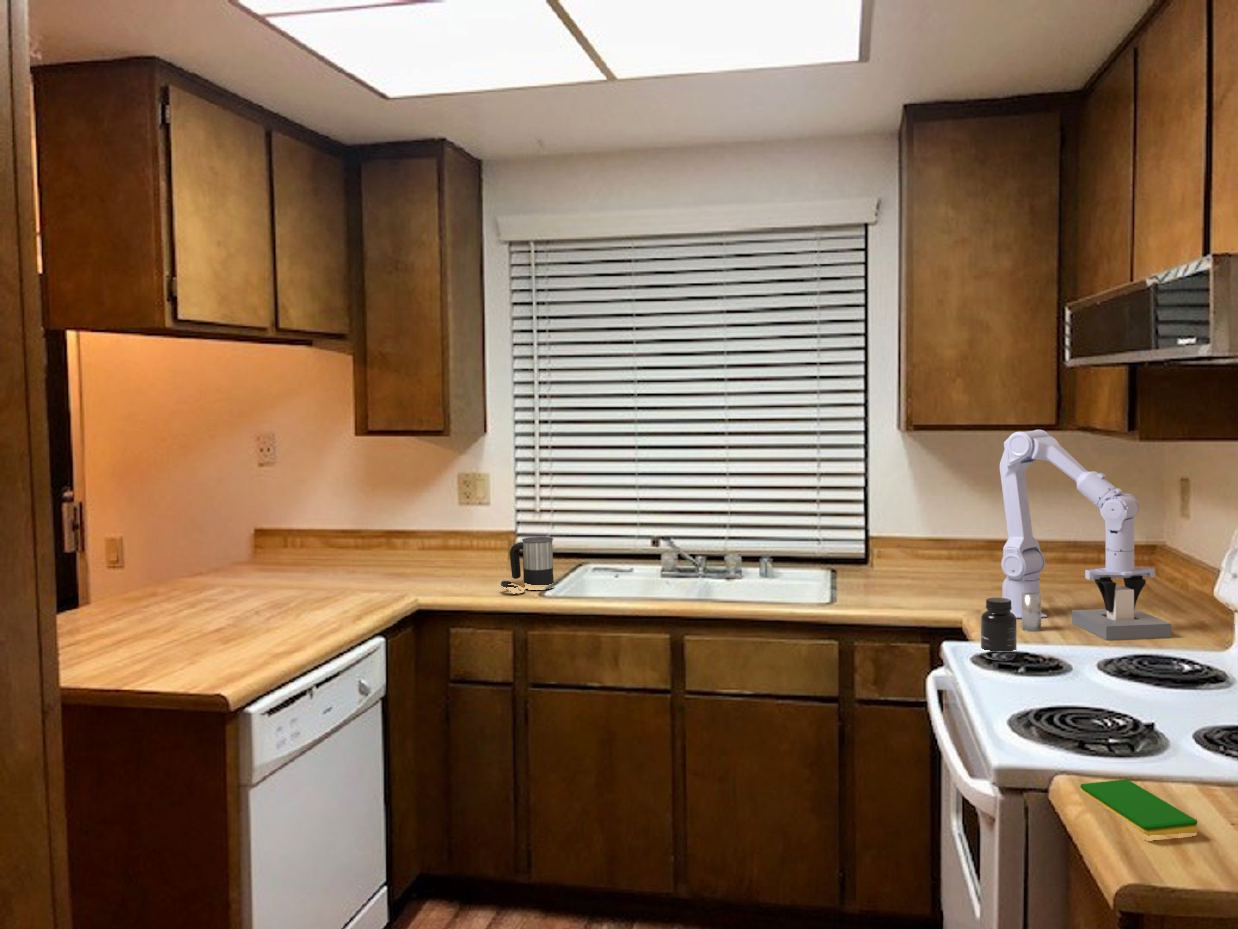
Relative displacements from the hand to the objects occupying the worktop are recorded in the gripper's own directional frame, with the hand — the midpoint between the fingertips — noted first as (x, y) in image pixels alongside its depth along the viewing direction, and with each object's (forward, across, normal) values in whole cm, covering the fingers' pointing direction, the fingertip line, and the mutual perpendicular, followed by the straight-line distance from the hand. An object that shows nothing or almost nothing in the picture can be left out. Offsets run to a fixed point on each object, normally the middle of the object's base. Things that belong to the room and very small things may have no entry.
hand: (1119, 610), depth 225 cm
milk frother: (+5, -136, +73) cm, 155 cm away
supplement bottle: (+5, -34, -18) cm, 39 cm away
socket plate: (+4, 0, 0) cm, 4 cm away
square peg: (+3, 0, 0) cm, 3 cm away
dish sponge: (+5, -46, -94) cm, 105 cm away
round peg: (+4, -18, +4) cm, 19 cm away
